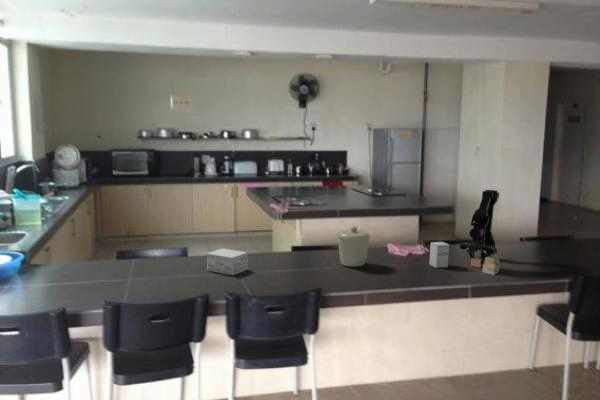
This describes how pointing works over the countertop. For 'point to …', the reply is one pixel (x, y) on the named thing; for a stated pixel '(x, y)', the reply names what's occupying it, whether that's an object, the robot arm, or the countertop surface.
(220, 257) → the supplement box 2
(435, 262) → the supplement box
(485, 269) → the tower base
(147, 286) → the countertop surface
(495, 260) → the tower mid
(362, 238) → the canister
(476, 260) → the terracotta block
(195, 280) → the countertop surface
